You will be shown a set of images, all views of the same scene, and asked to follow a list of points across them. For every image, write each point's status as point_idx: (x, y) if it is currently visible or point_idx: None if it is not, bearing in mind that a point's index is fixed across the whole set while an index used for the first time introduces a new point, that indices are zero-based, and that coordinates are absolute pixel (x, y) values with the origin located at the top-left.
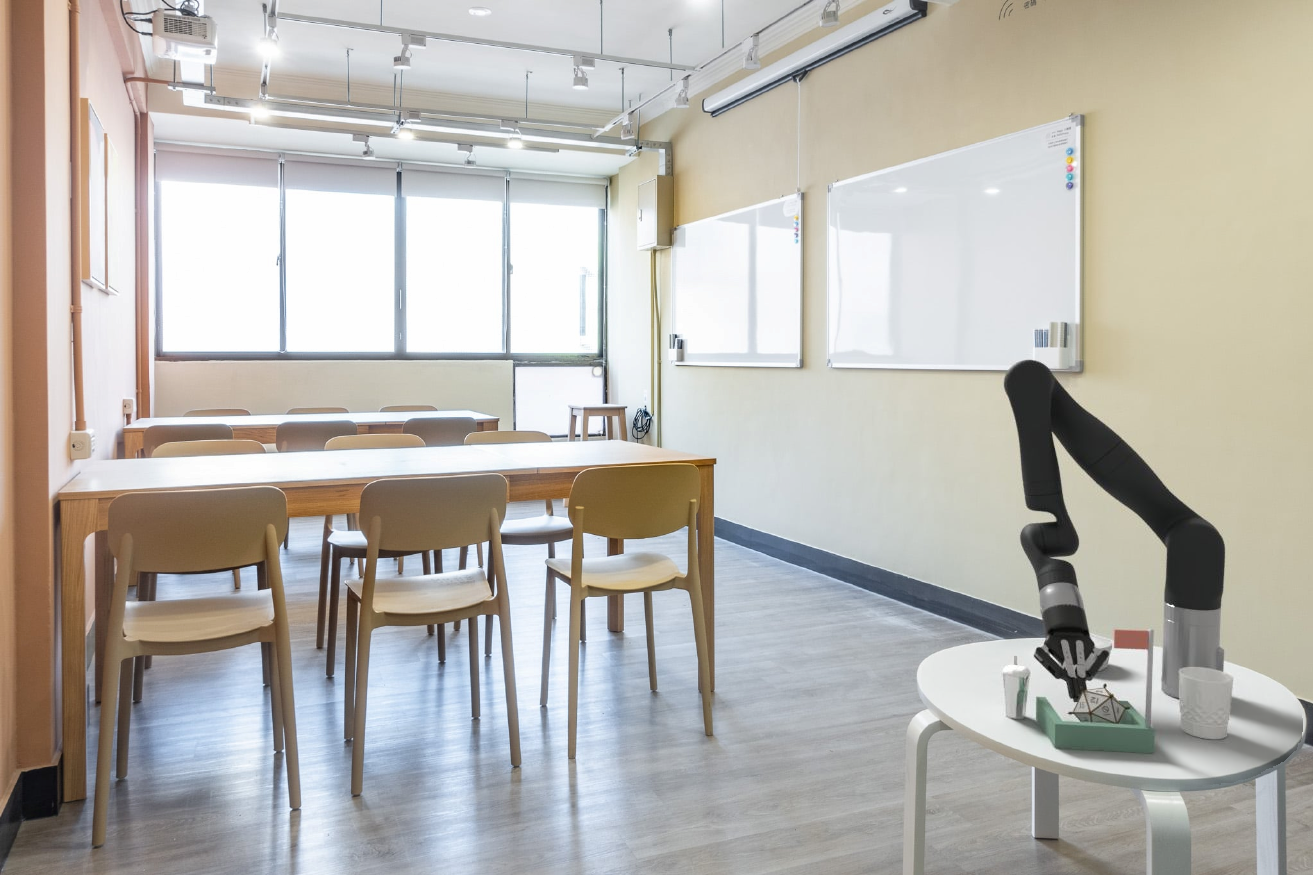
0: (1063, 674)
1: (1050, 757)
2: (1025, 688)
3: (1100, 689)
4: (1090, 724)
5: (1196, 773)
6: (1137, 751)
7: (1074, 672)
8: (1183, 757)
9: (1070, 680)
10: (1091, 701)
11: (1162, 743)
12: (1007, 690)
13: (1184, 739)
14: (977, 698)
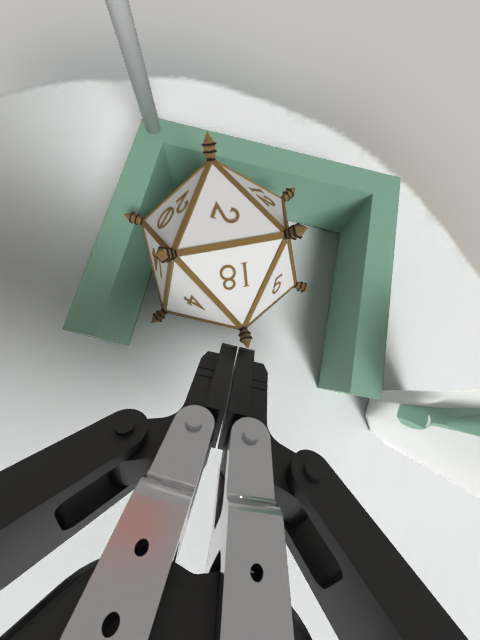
0: (286, 454)
1: None
2: (455, 393)
3: (204, 235)
4: (305, 163)
5: None
6: None
7: (231, 441)
8: (109, 149)
9: (257, 416)
10: (273, 202)
11: (101, 215)
12: None
13: (27, 230)
14: (464, 583)
